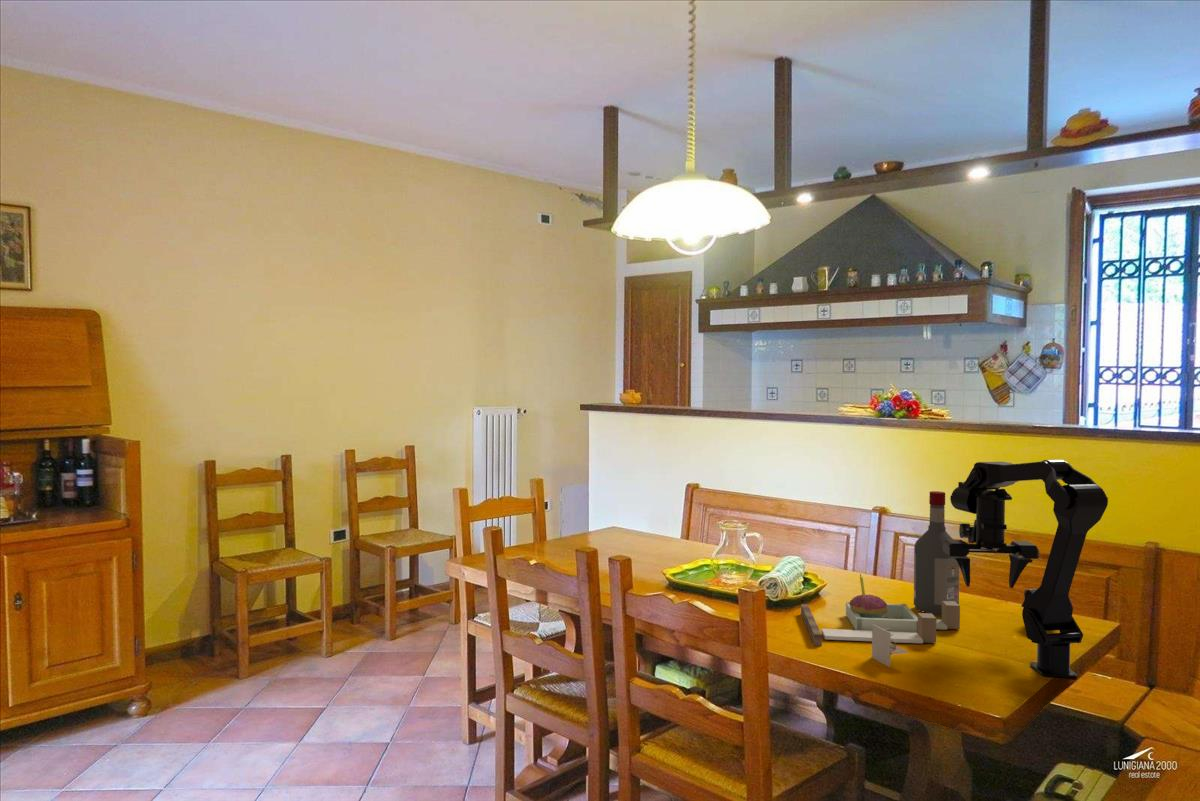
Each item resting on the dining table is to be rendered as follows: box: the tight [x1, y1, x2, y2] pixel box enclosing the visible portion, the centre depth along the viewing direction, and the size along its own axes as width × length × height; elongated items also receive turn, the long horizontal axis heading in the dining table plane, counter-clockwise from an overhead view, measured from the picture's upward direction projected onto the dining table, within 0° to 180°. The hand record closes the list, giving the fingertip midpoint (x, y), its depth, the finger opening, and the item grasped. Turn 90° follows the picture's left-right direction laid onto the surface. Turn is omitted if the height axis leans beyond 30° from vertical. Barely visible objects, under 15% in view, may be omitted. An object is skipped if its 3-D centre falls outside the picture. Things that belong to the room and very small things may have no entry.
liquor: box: [913, 490, 960, 616], centre depth 197 cm, size 9×9×30 cm
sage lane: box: [845, 601, 961, 633], centre depth 184 cm, size 13×24×6 cm, turn 83°
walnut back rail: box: [800, 603, 823, 647], centre depth 182 cm, size 23×2×2 cm, turn 173°
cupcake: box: [848, 573, 888, 618], centre depth 185 cm, size 9×8×12 cm
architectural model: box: [871, 625, 908, 668], centre depth 161 cm, size 3×7×7 cm, turn 18°
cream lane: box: [821, 612, 937, 644], centre depth 175 cm, size 5×24×6 cm, turn 83°
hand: (989, 587), depth 174 cm, fingers open, 9 cm apart
